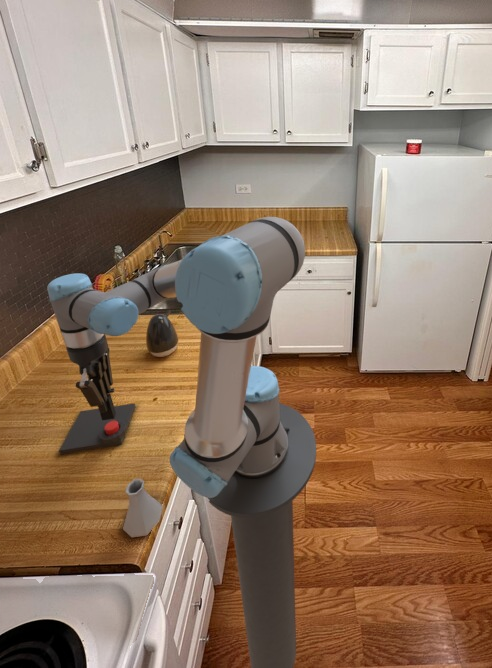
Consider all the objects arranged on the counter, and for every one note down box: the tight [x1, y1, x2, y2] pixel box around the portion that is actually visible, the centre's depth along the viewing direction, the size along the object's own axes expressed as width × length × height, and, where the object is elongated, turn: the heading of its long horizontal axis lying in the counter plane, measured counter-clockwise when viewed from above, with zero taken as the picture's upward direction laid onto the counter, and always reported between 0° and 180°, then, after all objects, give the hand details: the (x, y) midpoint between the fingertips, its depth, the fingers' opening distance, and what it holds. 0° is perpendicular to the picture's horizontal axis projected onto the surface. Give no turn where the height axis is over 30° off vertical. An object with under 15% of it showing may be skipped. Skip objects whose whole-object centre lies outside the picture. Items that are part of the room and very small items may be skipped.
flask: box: [122, 478, 164, 538], centre depth 67 cm, size 7×7×10 cm
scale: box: [58, 402, 136, 455], centre depth 88 cm, size 14×12×3 cm
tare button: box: [104, 421, 119, 435], centre depth 85 cm, size 3×3×2 cm
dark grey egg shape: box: [145, 309, 179, 358], centre depth 115 cm, size 10×10×15 cm
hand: (109, 416), depth 84 cm, fingers closed
